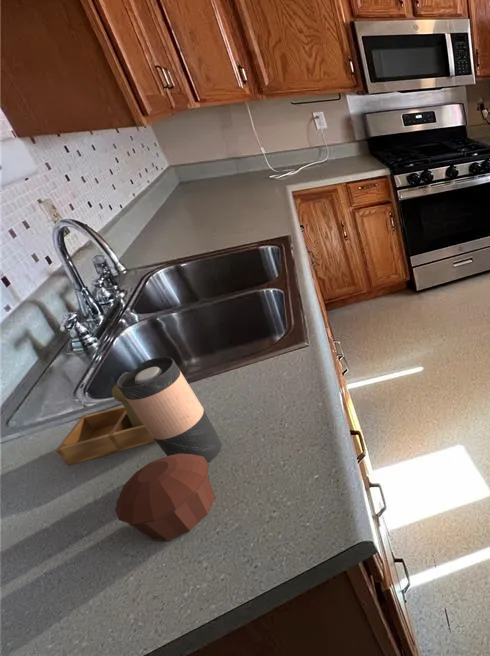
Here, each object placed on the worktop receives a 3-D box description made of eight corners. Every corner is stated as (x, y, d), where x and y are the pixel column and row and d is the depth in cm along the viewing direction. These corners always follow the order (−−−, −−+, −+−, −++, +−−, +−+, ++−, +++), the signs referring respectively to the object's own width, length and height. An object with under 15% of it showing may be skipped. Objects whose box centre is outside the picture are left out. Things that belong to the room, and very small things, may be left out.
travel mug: (218, 463, 74) (165, 378, 65) (168, 480, 72) (106, 394, 62) (227, 432, 80) (180, 350, 71) (181, 446, 78) (127, 364, 69)
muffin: (120, 558, 60) (81, 517, 56) (161, 489, 70) (131, 449, 65) (208, 538, 62) (177, 496, 57) (236, 473, 72) (212, 433, 67)
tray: (68, 465, 76) (55, 450, 74) (93, 430, 83) (81, 416, 81) (171, 436, 80) (161, 422, 78) (186, 406, 88) (177, 391, 86)
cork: (129, 439, 80) (97, 396, 74) (144, 416, 85) (116, 375, 80) (164, 430, 81) (136, 388, 76) (177, 408, 86) (151, 367, 81)
